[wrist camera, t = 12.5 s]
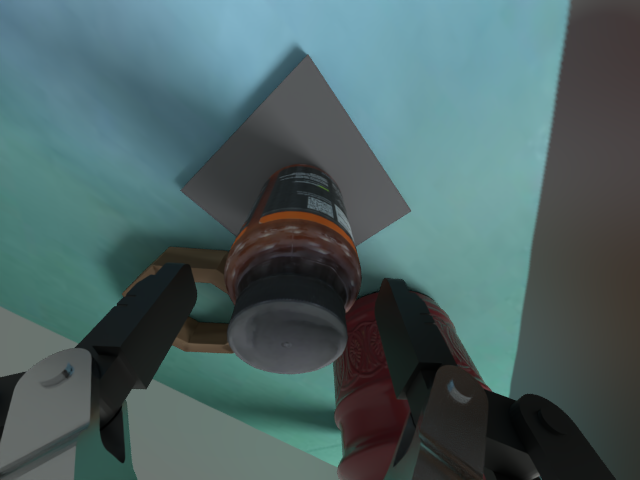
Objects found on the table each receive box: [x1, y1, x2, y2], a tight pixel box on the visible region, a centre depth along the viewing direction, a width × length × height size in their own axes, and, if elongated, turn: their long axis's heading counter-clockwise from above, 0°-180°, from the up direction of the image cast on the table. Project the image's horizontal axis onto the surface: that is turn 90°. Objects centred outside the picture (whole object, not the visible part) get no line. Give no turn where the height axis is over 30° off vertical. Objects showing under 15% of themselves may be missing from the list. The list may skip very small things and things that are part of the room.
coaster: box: [180, 55, 411, 246], centre depth 17 cm, size 12×12×1 cm
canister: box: [333, 291, 492, 480], centre depth 19 cm, size 13×13×18 cm
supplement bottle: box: [224, 164, 362, 374], centre depth 12 cm, size 6×6×11 cm
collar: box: [122, 247, 234, 353], centre depth 22 cm, size 12×12×2 cm
